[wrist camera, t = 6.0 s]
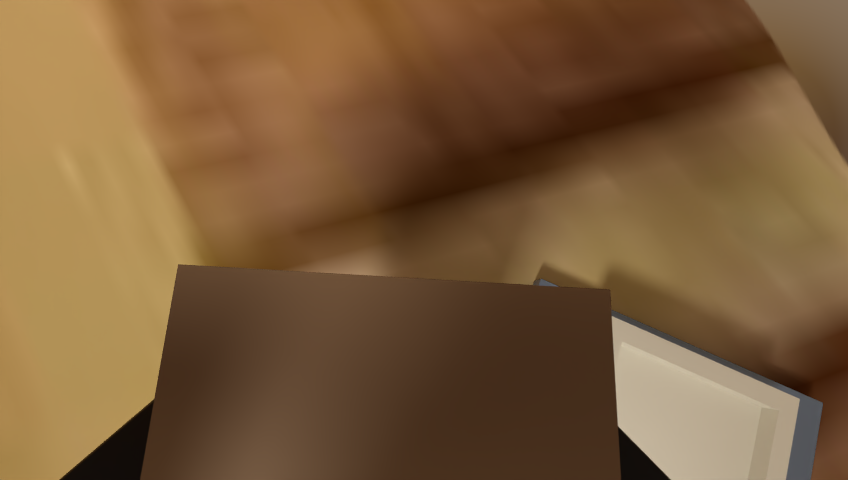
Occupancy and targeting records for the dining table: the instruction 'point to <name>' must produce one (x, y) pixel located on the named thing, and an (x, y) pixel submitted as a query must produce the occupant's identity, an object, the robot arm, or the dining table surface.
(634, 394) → the board
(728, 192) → the dining table surface
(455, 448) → the pillar
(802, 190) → the dining table surface
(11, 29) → the dining table surface
